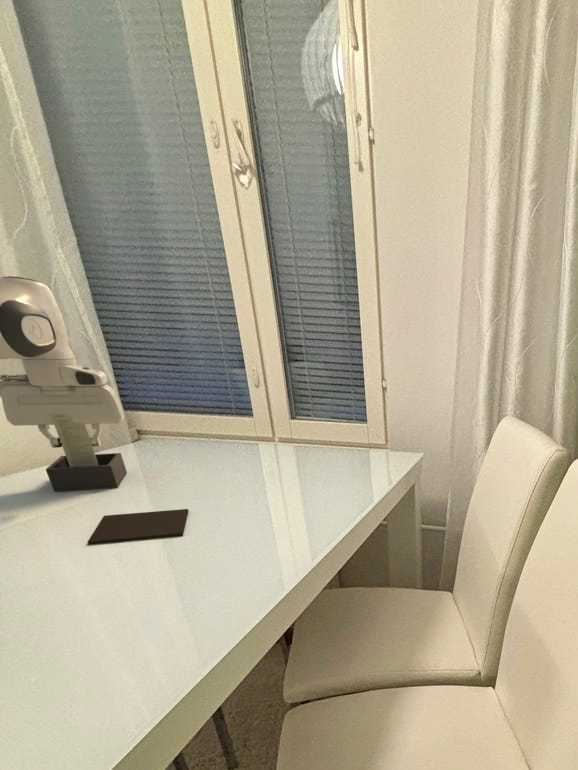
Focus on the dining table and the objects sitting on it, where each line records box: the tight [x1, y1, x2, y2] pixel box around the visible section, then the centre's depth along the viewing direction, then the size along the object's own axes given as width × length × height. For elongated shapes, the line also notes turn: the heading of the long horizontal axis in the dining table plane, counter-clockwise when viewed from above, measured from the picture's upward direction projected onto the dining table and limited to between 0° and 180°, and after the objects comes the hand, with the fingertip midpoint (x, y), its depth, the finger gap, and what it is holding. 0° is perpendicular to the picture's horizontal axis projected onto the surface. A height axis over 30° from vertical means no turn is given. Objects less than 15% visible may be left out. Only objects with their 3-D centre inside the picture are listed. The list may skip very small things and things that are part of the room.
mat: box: [87, 508, 190, 546], centre depth 97 cm, size 14×14×1 cm
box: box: [53, 416, 99, 467], centre depth 116 cm, size 5×4×11 cm
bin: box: [45, 452, 128, 493], centre depth 119 cm, size 12×13×5 cm
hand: (77, 446), depth 116 cm, fingers closed on box, 6 cm apart
